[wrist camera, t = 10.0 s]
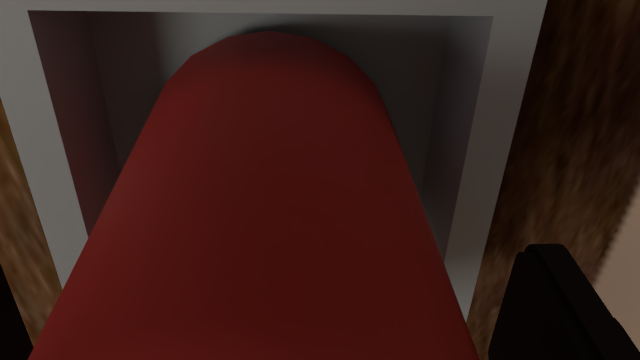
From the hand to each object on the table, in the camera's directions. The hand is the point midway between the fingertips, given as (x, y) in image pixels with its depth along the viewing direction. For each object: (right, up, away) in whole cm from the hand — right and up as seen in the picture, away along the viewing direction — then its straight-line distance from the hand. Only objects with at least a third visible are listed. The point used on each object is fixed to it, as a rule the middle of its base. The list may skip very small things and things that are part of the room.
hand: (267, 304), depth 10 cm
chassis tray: (0, +4, +6) cm, 7 cm away
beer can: (0, +4, +5) cm, 7 cm away
